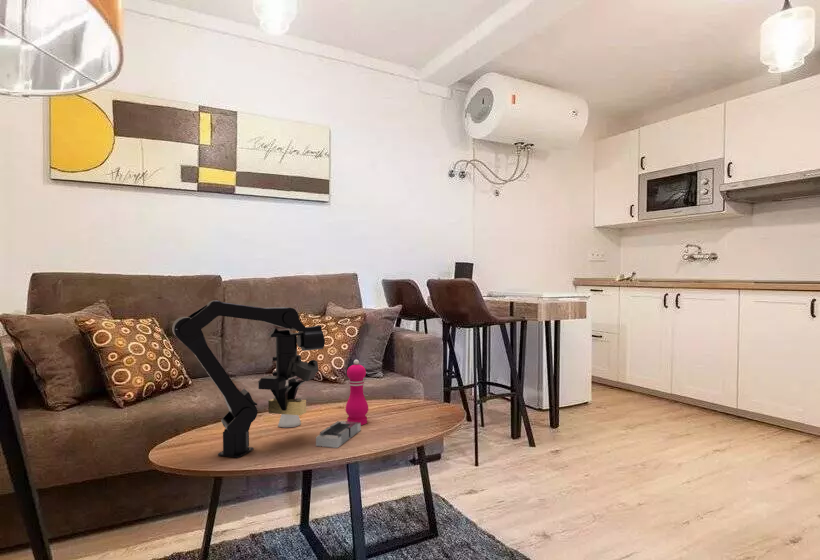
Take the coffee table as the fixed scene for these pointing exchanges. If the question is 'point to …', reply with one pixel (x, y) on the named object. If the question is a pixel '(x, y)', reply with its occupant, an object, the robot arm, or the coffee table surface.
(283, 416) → the flask
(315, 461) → the coffee table surface
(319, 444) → the grey metal base
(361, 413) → the pepper mill
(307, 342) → the robot arm
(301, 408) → the link bar
